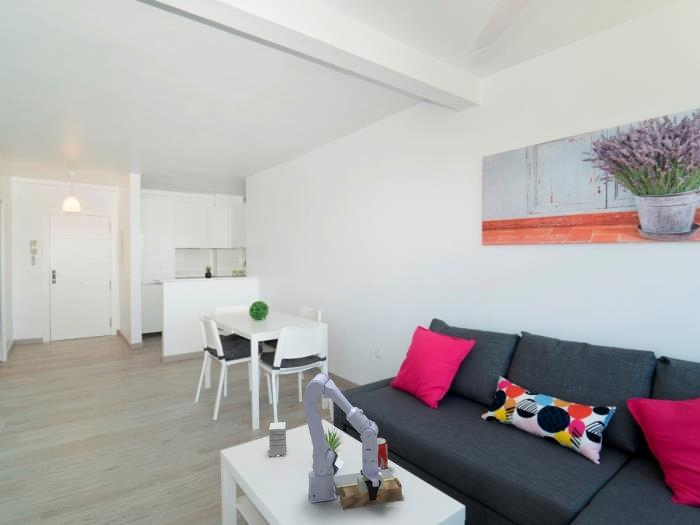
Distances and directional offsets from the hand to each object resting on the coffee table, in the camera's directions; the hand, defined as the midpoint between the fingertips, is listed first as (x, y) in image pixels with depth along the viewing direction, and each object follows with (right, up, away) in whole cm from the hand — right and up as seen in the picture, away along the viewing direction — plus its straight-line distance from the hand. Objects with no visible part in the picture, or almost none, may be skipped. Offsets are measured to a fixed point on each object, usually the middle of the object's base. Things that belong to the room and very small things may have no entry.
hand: (370, 495), depth 138 cm
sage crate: (-3, +3, -1) cm, 4 cm away
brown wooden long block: (0, -2, 0) cm, 2 cm away
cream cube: (+2, +3, +1) cm, 4 cm away
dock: (-2, -2, +10) cm, 10 cm away
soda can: (+5, -2, +21) cm, 21 cm away
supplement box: (-41, -3, +36) cm, 54 cm away
